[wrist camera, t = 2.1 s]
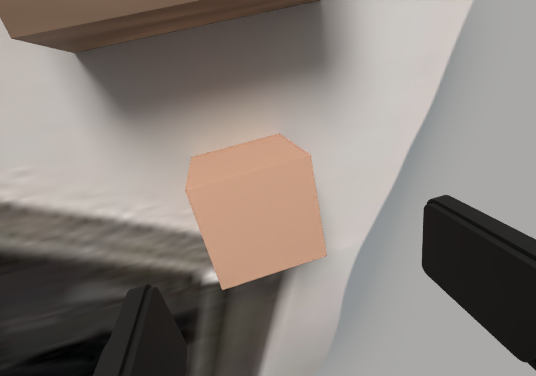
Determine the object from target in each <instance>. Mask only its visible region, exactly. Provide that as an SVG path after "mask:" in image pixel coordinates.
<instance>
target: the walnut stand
mask: <svg viewBox="0 0 536 376" xmlns="http://www.w3.org/2000/svg"><path fill="white" fill-rule="evenodd" d="M314 1H319V0H0V18H1V20H2V22H3V23H4V25H5V27H6V29H7V31H8V33H9V35H10V37H11V38H12V39H16V40H20V41H25V42H29V43H33V44H38V45H42V46H46V47H51V48H55V49H59V50H64V51H68V52H72V53H75V52H79V51H84V50H89V49H93V48H98V47H103V46H107V45H112V44H117V43H122V42H126V41H131V40H136V39H140V38H145V37H150V36H154V35H159V34H164V33H169V32H173V31H178V30H183V29H187V28H192V27H197V26H201V25H206V24H211V23H215V22H220V21H225V20H230V19H234V18H239V17H244V16H248V15H253V14H258V13H262V12H267V11H272V10H276V9H281V8H286V7H291V6H295V5H300V4H305V3H309V2H314Z"/></svg>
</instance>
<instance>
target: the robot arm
mask: <svg viewBox="0 0 536 376" xmlns="http://www.w3.org/2000/svg"><path fill="white" fill-rule="evenodd" d="M422 267H423V270H424V271H425V273H426V274H427V275H428V276H429V277H430V278H431V279H432V280H433V281H434V282H436V283H437V284H438V285H439V286H440V287H441V288H442V289H443V290H444V291H445V292H446V293H447V294H448V295H449V296H450V297H452V298H453V299H454V300H455V301H456V302H457V303H458V304H459V305H460V306H461V307H462V308H464V309H465V310H466V311H467V312H468V313H469V314H470V315H471V316H472V317H473V318H474V319H475V320H477V322H479V323H480V324H481V325H482V326H483V327H484V328H485V329H486V330H487V331H488V332H489V333H490V334H492V335H493V336H494V337H495V338H496V339H497V340H498V341H499V342H500V343H501V344H502V345H503V346H504V347H506V348H507V349H508V350H509V351H510V352H511V353H512V354H513V355H514V356H516V357H517V358H518V359H519V360H521V361H523V362H527V363H529V365H531V366H532V367H533V368H534V369H535V370H536V239H534V238H532V237H529V236H528V235H525V234H524V233H522V232H520V231H518V230H516V229H514V228H512V227H510V226H508V225H506V224H504V223H502V222H500V221H498V220H496V219H494V218H492V217H490V216H488V215H486V214H484V213H483V212H481V211H479V210H477V209H474V208H473V207H470V206H469V205H467V204H465V203H462V202H461V201H459V200H457V199H455V198H453V197H451V196H449V195H443V196H440V197H436V198H433V199H430V200H429V201H428V202H427V205H425V207H424V217H423V245H422ZM186 359H187V347H186V342H185V340H184V338H183V336H182V334H181V332H180V330H179V328H178V326H177V324H176V322H175V321H174V319H173V317H172V315H171V313H170V311H169V309H168V307H167V305H166V303H165V301H164V299H163V297H162V295H161V293H160V291H159V290H158V288H157V287H153V288H152V287H151V285H149V284H147V285H143V286H140V287H137V288H133V289H130V290H129V291H128V293H127V295H126V298H125V300H124V303H123V306H122V308H121V311H120V313H119V316H118V319H117V321H116V324H115V327H114V329H113V332H112V335H111V337H110V340H109V342H108V344H107V345H106V346H105V348H104V350H103V352H102V354H101V357H100V359H99V362H98V365H97V367H96V370H95V372H94V375H93V376H185V371H186Z"/></svg>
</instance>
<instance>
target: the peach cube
mask: <svg viewBox="0 0 536 376" xmlns="http://www.w3.org/2000/svg"><path fill="white" fill-rule="evenodd" d="M185 191H186V194H187V197H188V199H189V202H190V205H191V207H192V210H193V213H194V215H195V218H196V221H197V223H198V226H199V229H200V231H201V234H202V237H203V239H204V242H205V245H206V247H207V250H208V253H209V255H210V258H211V261H212V263H213V266H214V269H215V272H216V274H217V277H218V280H219V282H220V285H221V288H222V290H224V289H227V288H230V287H233V286H236V285H239V284H243V283H246V282H249V281H252V280H255V279H258V278H261V277H264V276H267V275H270V274H273V273H276V272H279V271H282V270H285V269H288V268H291V267H294V266H297V265H300V264H303V263H306V262H310V261H313V260H316V259H319V258H322V257H325V256H327V254H326V248H325V242H324V236H323V229H322V223H321V217H320V211H319V204H318V198H317V192H316V186H315V179H314V173H313V167H312V161H311V155H310V154H309V153H307V152H306V151H304V150H303V149H301V148H300V147H298V146H297V145H295V144H294V143H292V142H291V141H289V140H288V139H287V138H285V137H284V136H282V135H281V134H276V135H273V136H269V137H265V138H261V139H258V140H254V141H250V142H246V143H243V144H239V145H235V146H231V147H228V148H224V149H220V150H217V151H213V152H209V153H205V154H202V155H198V156H194V157H191V162H190V167H189V172H188V177H187V183H186V188H185Z"/></svg>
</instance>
